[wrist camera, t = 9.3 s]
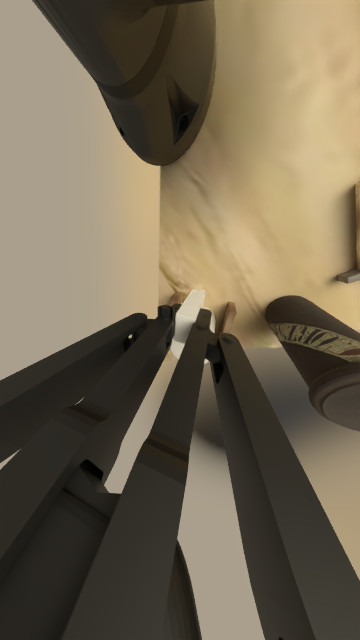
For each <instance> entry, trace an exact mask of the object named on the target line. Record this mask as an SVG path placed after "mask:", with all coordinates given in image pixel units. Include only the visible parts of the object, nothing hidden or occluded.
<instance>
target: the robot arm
mask: <svg viewBox="0 0 360 640" xmlns="http://www.w3.org/2000/svg"><path fill="white" fill-rule="evenodd" d="M32 1H33V2H34V3H35V5H36V6H37V7H38V8H39V10H40V11H41V12H42V14H43V15H44V16H45V17H46V19H47V20H48V21H49V23H50V24H51V25H52V26H53V28H54V29H55V30H56V32H57V33H58V34H59V35H60V37H61V38H62V39H63V41H64V42H65V43H66V45H67V46H68V47H69V48H70V50H71V51H72V52H73V54H74V55H75V56H76V57H77V59H78V60H79V61H80V63H81V64H82V65H83V66H84V68H85V69H86V70H87V71H88V73H89V74H90V75H91V77H92V78H93V79H94V80H95V82H96V83H97V86H98V88H99V90H100V92H101V94H102V96H103V99H104V101H105V103H106V105H107V107H108V109H109V111H110V113H111V115H112V118H113V120H114V122H115V125H116V127H117V129H118V131H119V132H120V134H121V136H122V137H123V139H124V140H125V142H126V143H127V145H128V146H129V147H130V148H131V149H132V150H133V151H134V152H135V153H136V154H137V155H138V156H139V157H140V158H141V159H142V160H143V161H145V162H147V163H149V164H152V165H156V166H162V165H167V164H170V163H172V162H174V161H175V160H177V159H178V158H179V157H181V156H182V155H183V154H184V153H185V152H186V151H187V149H188V148H189V147H190V146H191V144H192V143H193V141H194V139H195V138H196V136H197V134H198V132H199V130H200V128H201V126H202V124H203V121H204V119H205V116H206V113H207V110H208V107H209V103H210V99H211V95H212V90H213V84H214V77H215V68H216V25H215V8H214V0H32ZM205 292H206V291H204V290H198V289H193V290H192V291H191V293H190V294H189V295H188V297H187V298H186V300H185V301H184V303H183V304H177V303H175V304H173V305H172V306H169V305H162V306H159V307H158V317H157V318H156V319H147V315H145V314H143V313H135V314H132V315H130V316H128V317H126V318H124V319H122V320H120V321H118V322H116V323H114V324H112V325H110V326H108V327H107V328H104V329H102V330H100V331H98V332H96V333H94V334H92V335H90V336H88V337H86V338H84V339H82V340H80V341H78V342H76V343H74V344H72V345H70V346H68V347H66V348H65V349H62V350H60V351H58V352H56V353H54V354H52V355H50V356H48V357H47V358H44V359H43V360H40V361H38V362H36V363H34V364H33V365H30V366H28V367H27V368H24V369H23V370H20V371H19V372H16V373H15V374H12V375H10V376H8V377H6V378H5V379H2V380H1V381H0V463H1V462H2V461H4V460H5V459H7V458H8V457H10V456H11V455H12V454H14V453H15V452H17V451H18V450H19V451H18V452H17V454H15V456H14V457H13V458H12V459H11V460H10V461H9V462H8V463H7V464H6V465H5V466H4V467H3V468H2V469H1V470H0V640H202V637H201V632H200V626H199V621H198V615H197V610H196V604H195V599H194V594H193V589H192V585H191V580H190V576H189V573H188V569H187V565H186V561H185V558H184V555H183V552H182V550H181V546H180V545H179V542H178V540H177V535H178V529H179V523H180V517H181V510H182V503H183V498H184V492H185V485H186V479H187V472H188V463H189V451H190V444H191V438H192V432H193V425H194V420H195V415H196V409H197V403H198V397H199V390H200V385H201V379H202V373H203V367H204V361H205V359H207V360H208V361H210V366H211V371H212V377H213V382H214V388H215V393H216V399H217V405H218V410H219V416H220V421H221V426H222V432H223V438H224V443H225V449H226V455H227V460H228V466H229V471H230V477H231V482H232V488H233V494H234V499H235V505H236V510H237V515H238V521H239V527H240V532H241V538H242V543H243V549H244V554H245V559H246V563H247V568H248V573H249V578H250V583H251V587H252V591H253V595H254V599H255V603H256V606H257V611H258V614H259V618H260V622H261V626H262V629H263V634H264V637H265V640H360V581H359V579H358V577H357V575H356V573H355V571H354V569H353V567H352V565H351V563H350V561H349V559H348V557H347V555H346V553H345V551H344V549H343V547H342V545H341V543H340V541H339V539H338V537H337V535H336V533H335V531H334V529H333V527H332V525H331V523H330V521H329V519H328V517H327V515H326V513H325V511H324V509H323V507H322V505H321V503H320V501H319V499H318V497H317V495H316V493H315V491H314V489H313V487H312V485H311V483H310V481H309V479H308V477H307V475H306V473H305V471H304V469H303V467H302V465H301V464H300V462H299V460H298V458H297V456H296V454H295V452H294V450H293V448H292V446H291V444H290V442H289V440H288V438H287V436H286V434H285V432H284V430H283V428H282V426H281V424H280V422H279V420H278V418H277V416H276V414H275V412H274V410H273V408H272V406H271V404H270V402H269V400H268V398H267V396H266V394H265V392H264V390H263V388H262V386H261V384H260V382H259V380H258V378H257V377H256V374H255V372H254V370H253V368H252V366H251V364H250V362H249V360H248V358H247V356H246V355H245V352H244V351H243V348H242V346H241V344H240V342H239V340H238V339H237V338H236V337H235V336H233V335H231V334H228V333H222V334H220V335H217V334H215V333H213V332H212V331H211V330H210V322H211V316H212V312H211V310H207V309H203V308H202V307H203V302H204V297H205ZM131 334H132V338H130V339H129V337H128V336H129V335H131ZM173 337H174V341H176V342H180V343H183V344H185V345H184V348H183V350H182V353H181V355H180V358H179V360H178V363H177V365H176V368H175V370H174V373H173V375H172V378H171V381H170V383H169V386H168V388H167V391H166V393H165V396H164V399H163V401H162V403H161V406H160V408H159V411H158V414H157V416H156V419H155V421H154V424H153V426H152V429H151V431H150V434H149V436H148V438H147V439H146V440H145V441H144V443H143V445H142V447H141V449H140V451H139V453H138V455H137V458H136V460H135V462H134V465H133V467H132V470H131V472H130V474H129V477H128V479H127V482H126V484H125V486H124V489H123V491H122V494H116V493H109V492H108V491H107V489H106V488H105V486H104V484H105V482H106V480H107V478H108V476H109V474H110V472H111V470H112V468H113V466H114V464H115V461H116V459H117V456H118V454H119V450H120V446H121V443H122V440H123V438H124V436H125V434H126V433H127V430H128V428H129V427H130V425H131V423H132V421H133V419H134V417H135V415H136V413H137V411H138V409H139V407H140V405H141V403H142V401H143V399H144V397H145V395H146V393H147V392H148V390H149V388H150V386H151V384H152V382H153V380H154V378H155V376H156V374H157V372H158V370H159V368H160V366H161V364H162V362H163V360H164V359H165V357H166V355H167V353H168V351H169V349H170V347H171V345H172V339H173ZM82 398H84V399H83V400H82V401H80V400H81V399H82ZM79 401H80V403H78V402H79ZM76 403H78V404H76ZM75 404H76V405H75Z"/></svg>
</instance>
